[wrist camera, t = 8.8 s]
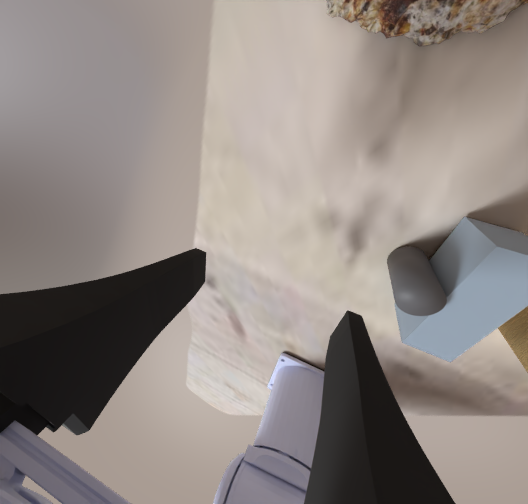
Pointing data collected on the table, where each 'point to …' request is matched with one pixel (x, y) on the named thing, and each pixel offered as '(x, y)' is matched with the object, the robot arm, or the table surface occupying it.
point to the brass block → (517, 335)
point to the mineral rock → (423, 16)
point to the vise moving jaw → (459, 287)
